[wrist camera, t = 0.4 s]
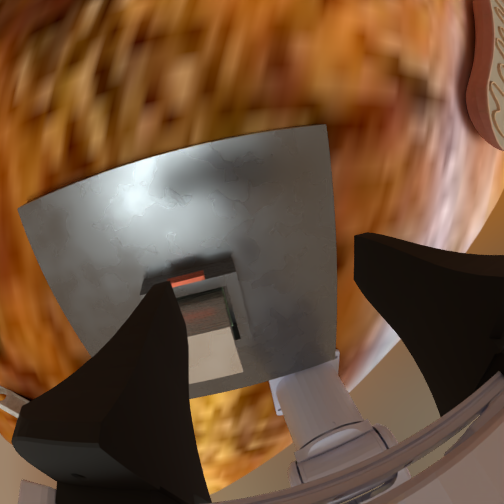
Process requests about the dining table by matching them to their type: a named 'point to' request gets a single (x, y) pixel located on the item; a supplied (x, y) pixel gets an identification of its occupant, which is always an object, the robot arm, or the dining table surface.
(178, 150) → the stand
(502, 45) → the brown rounded block
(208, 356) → the grey block
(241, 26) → the dining table surface
